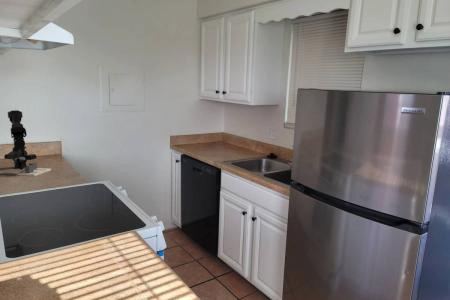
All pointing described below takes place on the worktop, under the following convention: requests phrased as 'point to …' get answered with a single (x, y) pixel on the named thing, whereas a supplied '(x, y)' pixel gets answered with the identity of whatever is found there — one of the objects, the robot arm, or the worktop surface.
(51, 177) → the worktop surface
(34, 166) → the slider on
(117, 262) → the worktop surface
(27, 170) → the slider
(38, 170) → the switch plate
